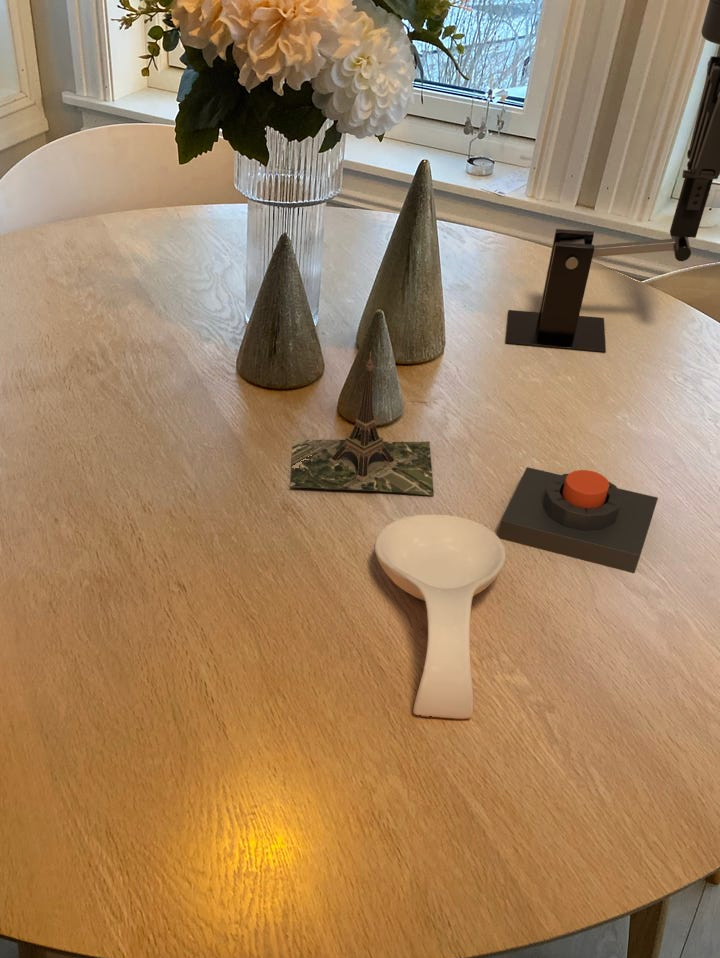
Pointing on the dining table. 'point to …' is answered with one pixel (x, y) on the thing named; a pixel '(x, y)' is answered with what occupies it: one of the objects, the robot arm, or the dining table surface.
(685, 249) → the lever
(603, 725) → the dining table surface
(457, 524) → the spoon rest
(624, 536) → the button box
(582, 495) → the button
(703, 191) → the robot arm
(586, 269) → the bracket
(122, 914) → the dining table surface
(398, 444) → the eiffel tower figurine
